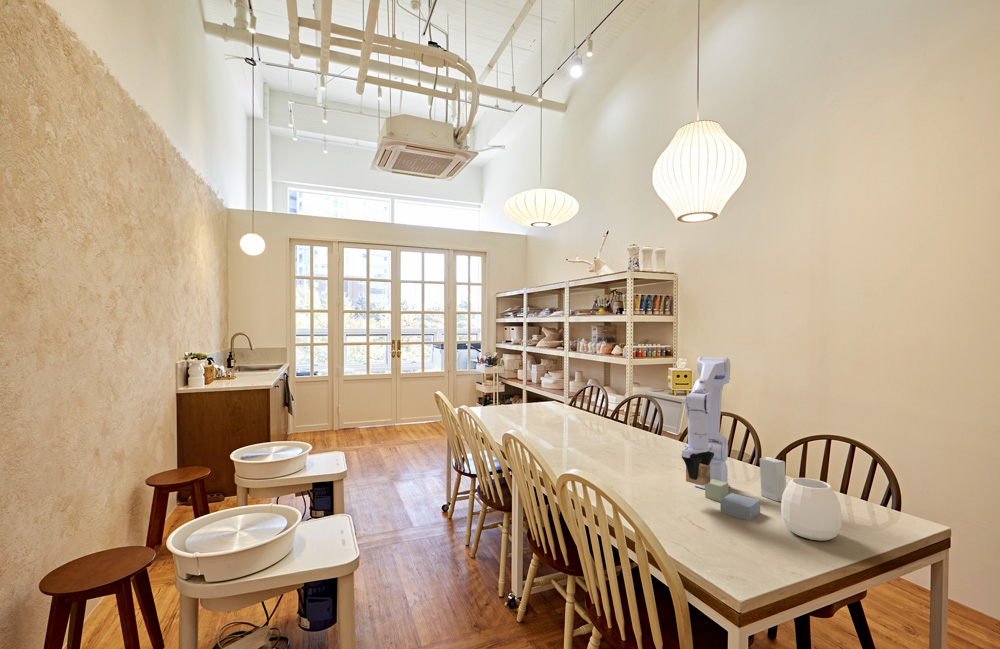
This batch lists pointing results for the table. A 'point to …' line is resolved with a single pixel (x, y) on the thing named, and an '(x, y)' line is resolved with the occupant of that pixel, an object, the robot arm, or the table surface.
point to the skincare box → (772, 478)
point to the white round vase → (811, 509)
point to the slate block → (740, 506)
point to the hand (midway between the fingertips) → (698, 477)
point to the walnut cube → (700, 475)
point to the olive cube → (716, 490)
